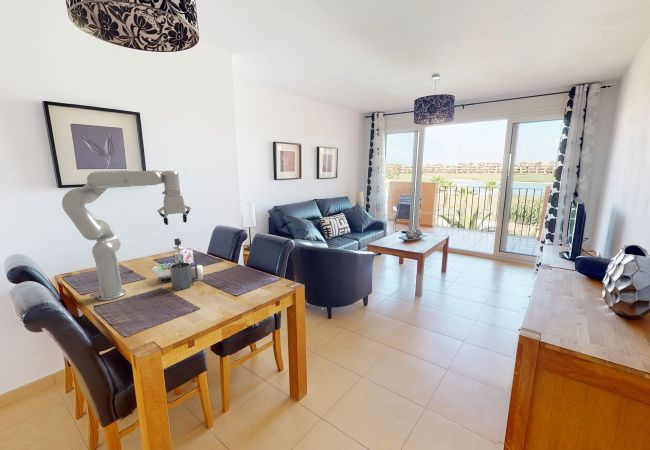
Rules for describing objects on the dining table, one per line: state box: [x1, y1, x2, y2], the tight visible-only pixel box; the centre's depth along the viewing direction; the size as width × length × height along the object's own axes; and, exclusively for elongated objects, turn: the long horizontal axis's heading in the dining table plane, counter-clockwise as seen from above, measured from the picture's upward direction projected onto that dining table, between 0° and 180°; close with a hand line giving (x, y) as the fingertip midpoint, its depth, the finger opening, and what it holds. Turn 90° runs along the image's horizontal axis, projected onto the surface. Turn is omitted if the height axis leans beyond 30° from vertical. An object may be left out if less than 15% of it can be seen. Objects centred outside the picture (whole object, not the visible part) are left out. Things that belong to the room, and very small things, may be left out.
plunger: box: [173, 237, 184, 268], centre depth 165 cm, size 8×8×20 cm
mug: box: [191, 264, 204, 282], centre depth 181 cm, size 7×9×8 cm
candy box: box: [173, 247, 195, 265], centre depth 186 cm, size 14×6×16 cm, turn 179°
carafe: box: [169, 263, 198, 291], centre depth 169 cm, size 14×10×13 cm
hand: (175, 223), depth 162 cm, fingers open, 9 cm apart
